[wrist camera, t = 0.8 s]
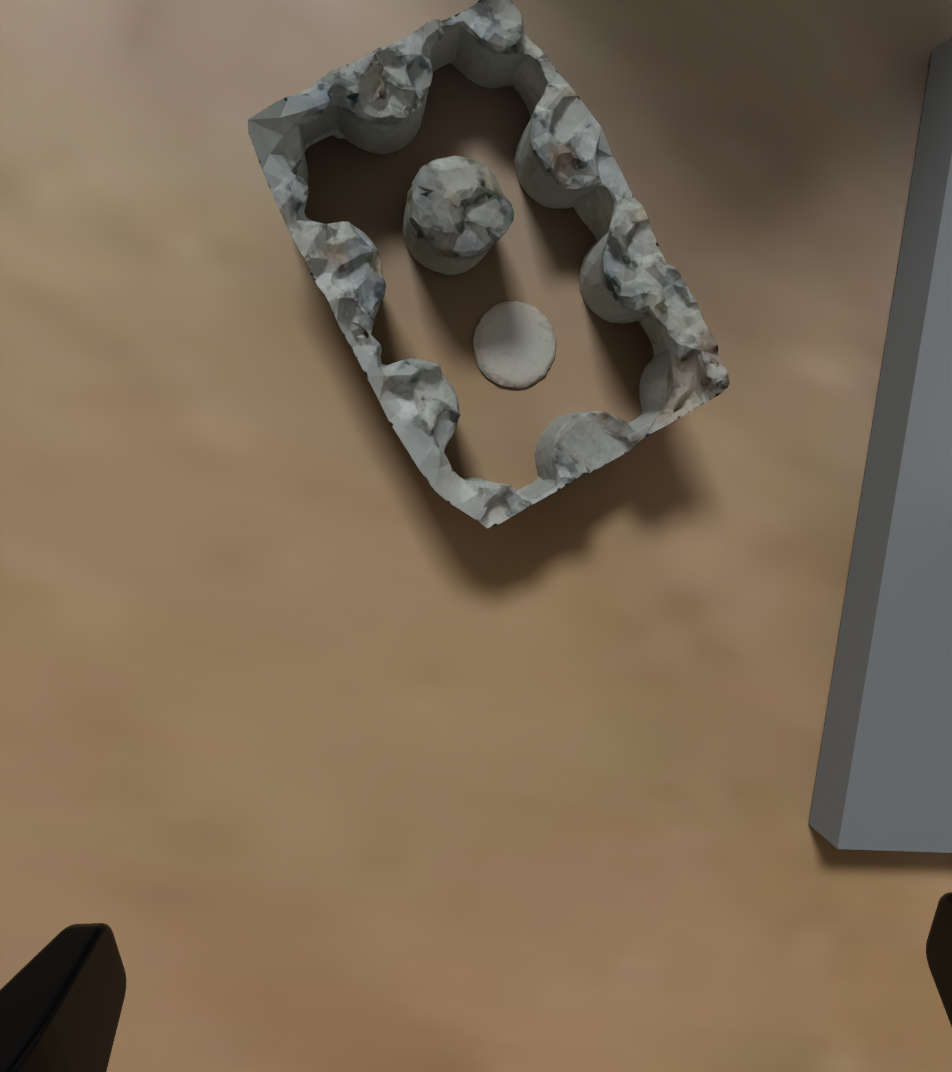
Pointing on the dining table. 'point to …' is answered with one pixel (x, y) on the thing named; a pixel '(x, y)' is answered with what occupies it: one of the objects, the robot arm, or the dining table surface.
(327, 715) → the dining table surface
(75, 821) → the dining table surface
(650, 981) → the dining table surface
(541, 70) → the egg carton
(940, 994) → the robot arm
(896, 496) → the shelf board
